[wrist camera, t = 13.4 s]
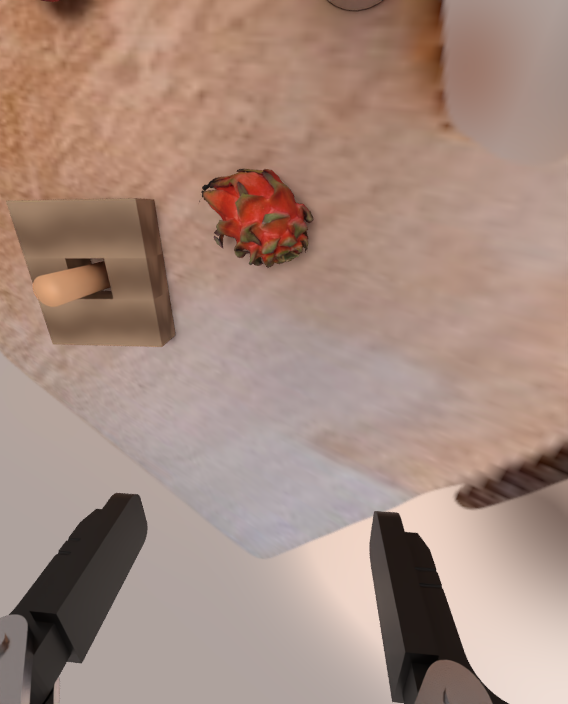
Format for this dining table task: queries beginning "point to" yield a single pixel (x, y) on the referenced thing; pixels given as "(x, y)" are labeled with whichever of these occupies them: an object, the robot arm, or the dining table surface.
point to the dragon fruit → (259, 216)
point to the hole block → (121, 263)
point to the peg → (71, 284)
